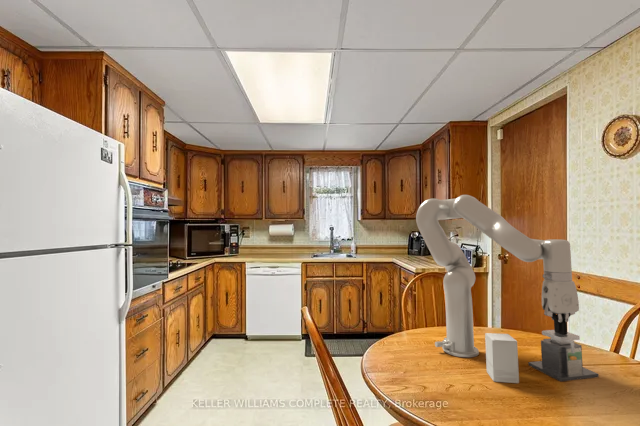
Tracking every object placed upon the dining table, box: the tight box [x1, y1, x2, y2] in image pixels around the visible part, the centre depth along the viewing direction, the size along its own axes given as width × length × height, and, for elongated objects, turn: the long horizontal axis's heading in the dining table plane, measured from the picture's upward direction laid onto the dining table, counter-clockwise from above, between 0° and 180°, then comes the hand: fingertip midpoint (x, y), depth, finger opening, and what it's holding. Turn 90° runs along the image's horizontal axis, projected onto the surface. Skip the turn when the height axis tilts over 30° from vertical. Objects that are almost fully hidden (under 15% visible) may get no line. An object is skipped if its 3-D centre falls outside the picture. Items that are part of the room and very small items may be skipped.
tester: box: [527, 337, 600, 382], centre depth 106 cm, size 14×12×9 cm
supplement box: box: [484, 332, 520, 384], centre depth 103 cm, size 7×7×13 cm
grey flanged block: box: [541, 329, 580, 353], centre depth 105 cm, size 7×9×9 cm
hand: (560, 333), depth 107 cm, fingers closed
